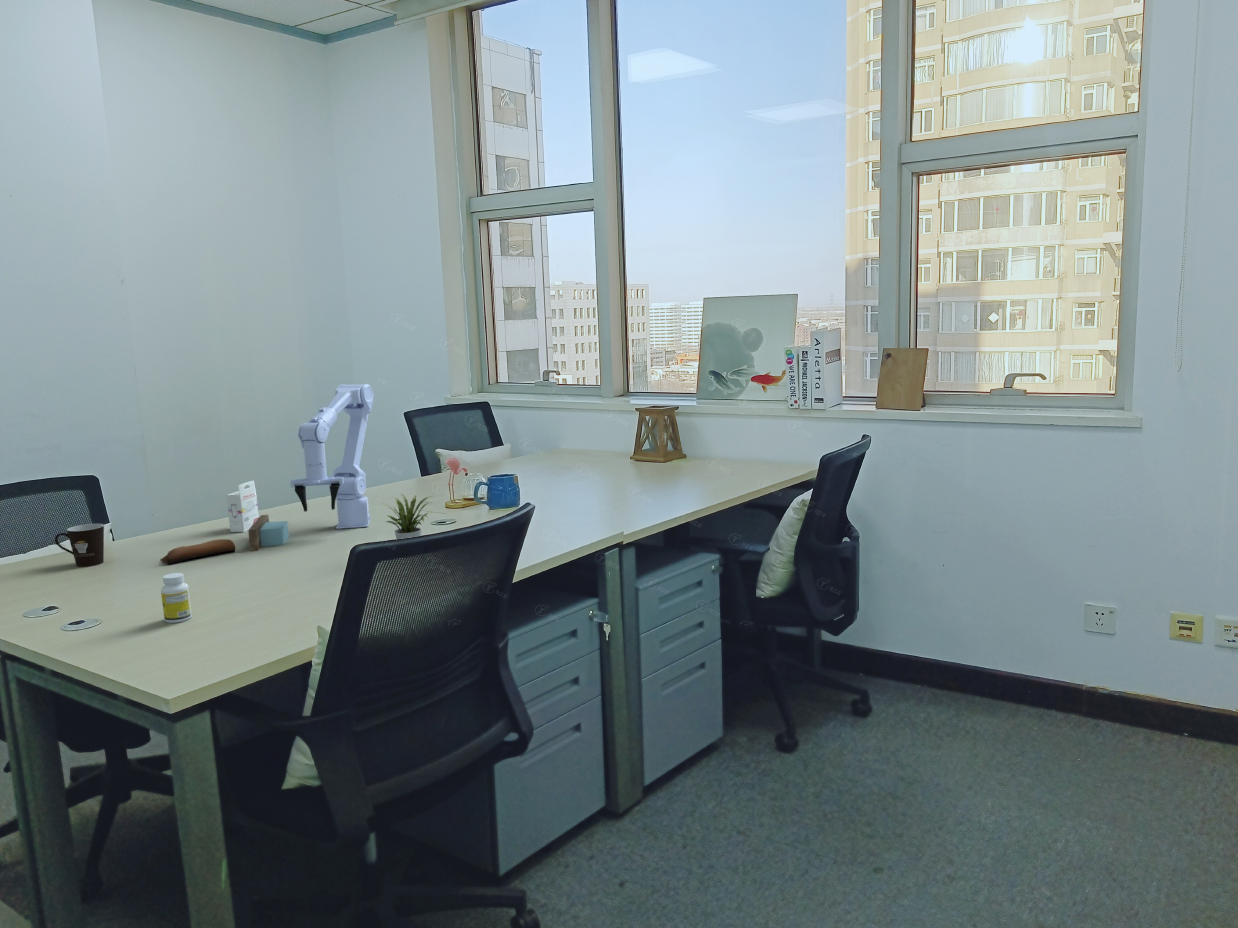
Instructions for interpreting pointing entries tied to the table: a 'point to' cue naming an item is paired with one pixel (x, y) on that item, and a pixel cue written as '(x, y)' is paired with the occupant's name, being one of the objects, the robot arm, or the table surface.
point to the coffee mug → (86, 544)
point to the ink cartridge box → (242, 507)
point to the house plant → (407, 519)
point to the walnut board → (257, 532)
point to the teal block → (274, 533)
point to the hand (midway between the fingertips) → (319, 509)
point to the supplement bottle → (176, 598)
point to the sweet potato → (198, 550)
